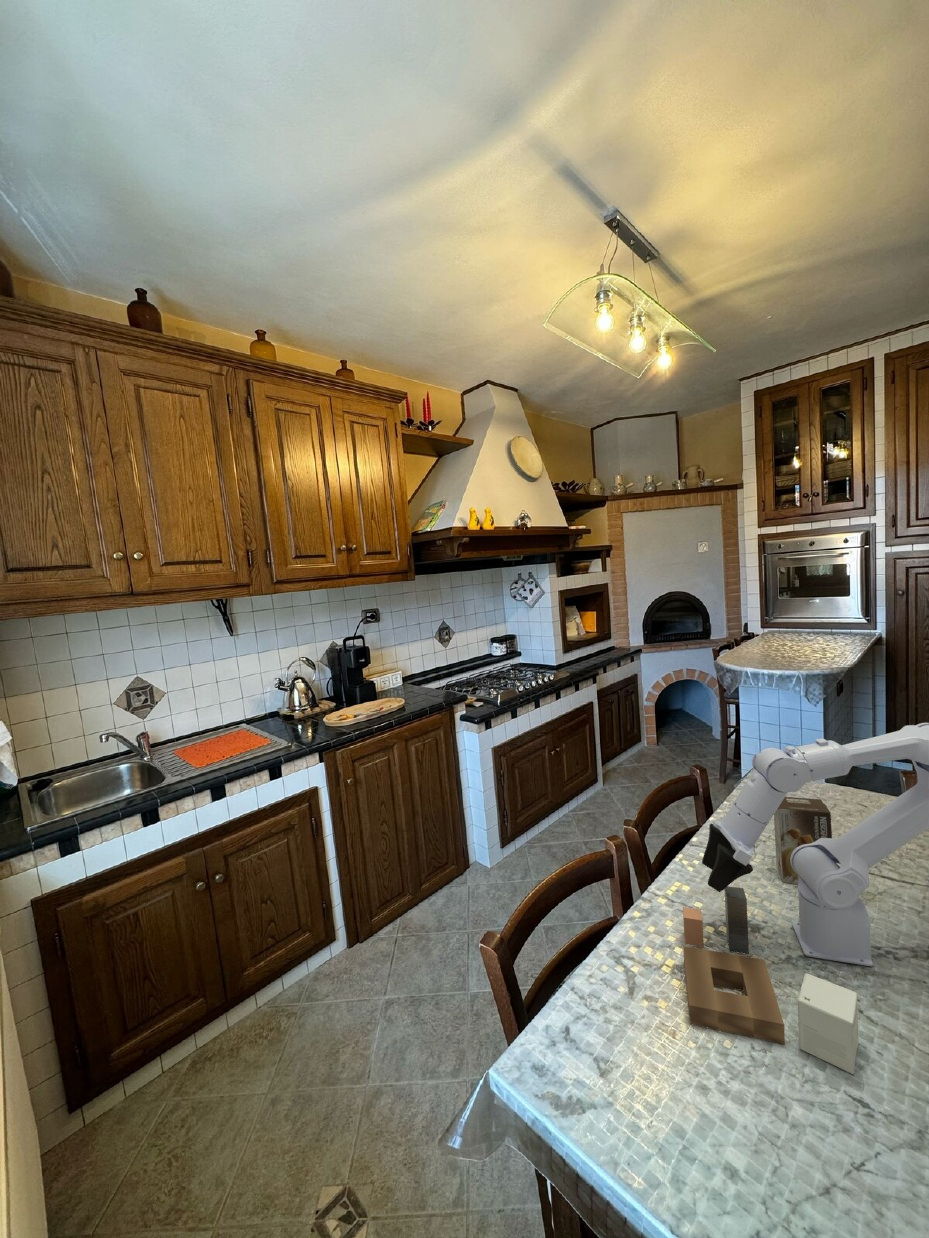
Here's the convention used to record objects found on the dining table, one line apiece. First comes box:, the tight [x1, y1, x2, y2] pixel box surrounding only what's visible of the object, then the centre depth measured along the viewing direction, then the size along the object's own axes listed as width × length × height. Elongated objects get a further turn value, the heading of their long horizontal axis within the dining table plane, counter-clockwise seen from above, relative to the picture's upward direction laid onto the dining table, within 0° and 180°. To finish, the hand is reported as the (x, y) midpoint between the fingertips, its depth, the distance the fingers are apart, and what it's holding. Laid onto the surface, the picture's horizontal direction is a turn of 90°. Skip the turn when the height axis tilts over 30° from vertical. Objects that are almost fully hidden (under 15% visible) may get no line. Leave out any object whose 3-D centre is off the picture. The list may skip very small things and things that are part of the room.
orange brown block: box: [682, 906, 705, 948], centre depth 88 cm, size 3×3×5 cm
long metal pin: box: [723, 885, 750, 955], centre depth 85 cm, size 3×3×10 cm
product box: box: [797, 972, 860, 1075], centre depth 67 cm, size 6×6×7 cm
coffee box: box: [773, 796, 833, 885], centre depth 102 cm, size 9×6×16 cm
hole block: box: [682, 945, 786, 1045], centre depth 76 cm, size 12×12×3 cm
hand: (710, 876), depth 87 cm, fingers open, 7 cm apart
